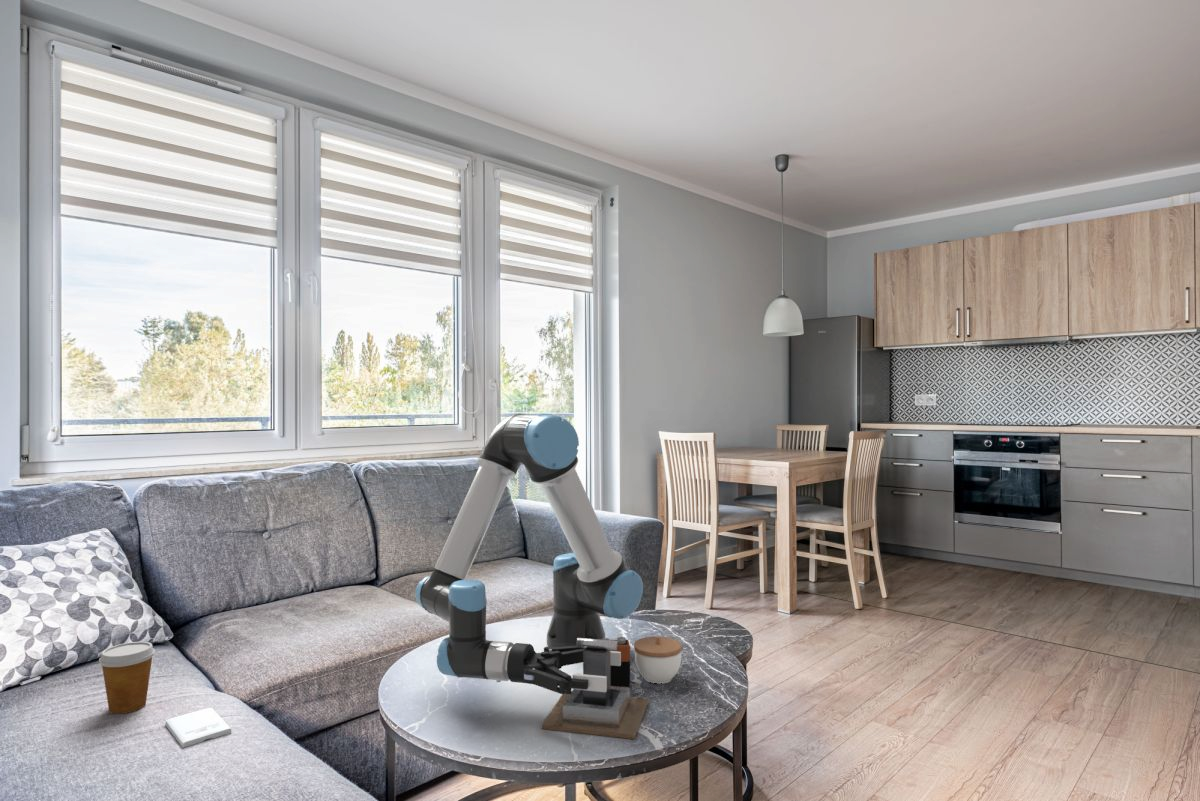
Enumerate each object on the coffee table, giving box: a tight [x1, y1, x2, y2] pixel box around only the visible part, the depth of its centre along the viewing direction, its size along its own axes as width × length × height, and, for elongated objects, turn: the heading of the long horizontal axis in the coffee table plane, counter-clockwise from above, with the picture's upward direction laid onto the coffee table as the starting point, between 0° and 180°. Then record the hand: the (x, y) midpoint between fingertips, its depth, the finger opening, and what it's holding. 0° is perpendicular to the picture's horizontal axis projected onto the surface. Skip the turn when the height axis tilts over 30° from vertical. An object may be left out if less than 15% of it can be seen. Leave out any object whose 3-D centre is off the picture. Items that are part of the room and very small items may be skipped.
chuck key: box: [576, 638, 618, 706], centre depth 140 cm, size 4×8×14 cm, turn 77°
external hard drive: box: [165, 707, 232, 748], centre depth 134 cm, size 2×8×12 cm
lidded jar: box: [633, 635, 683, 685], centre depth 158 cm, size 11×11×9 cm
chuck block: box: [541, 686, 650, 740], centre depth 140 cm, size 16×18×4 cm
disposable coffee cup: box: [98, 641, 156, 715], centre depth 144 cm, size 10×10×12 cm
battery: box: [603, 636, 631, 688], centre depth 155 cm, size 4×7×10 cm, turn 92°
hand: (613, 671), depth 139 cm, fingers open, 13 cm apart
